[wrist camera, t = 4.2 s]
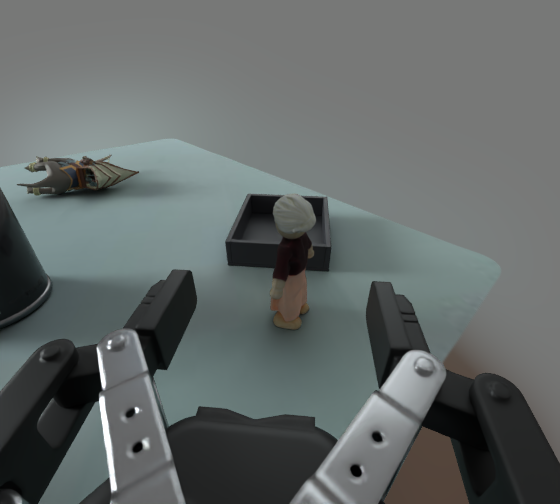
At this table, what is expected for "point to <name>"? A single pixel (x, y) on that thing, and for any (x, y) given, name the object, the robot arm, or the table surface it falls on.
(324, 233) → the pan
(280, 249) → the grandmother figurine
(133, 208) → the table surface
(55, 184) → the figurine
